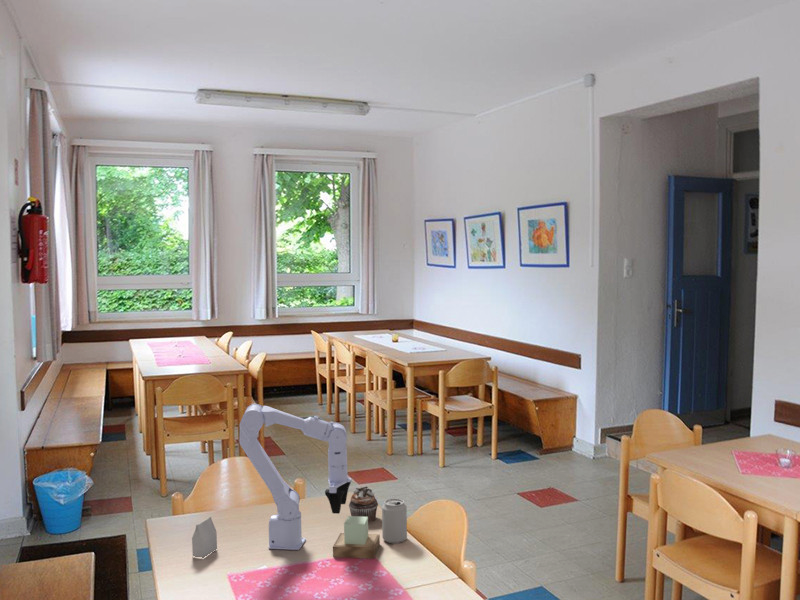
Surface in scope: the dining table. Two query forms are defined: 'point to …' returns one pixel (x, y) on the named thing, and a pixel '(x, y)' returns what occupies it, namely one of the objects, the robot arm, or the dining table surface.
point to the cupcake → (363, 503)
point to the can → (394, 521)
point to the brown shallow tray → (356, 547)
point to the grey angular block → (204, 538)
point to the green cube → (356, 530)
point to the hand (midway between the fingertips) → (339, 508)
